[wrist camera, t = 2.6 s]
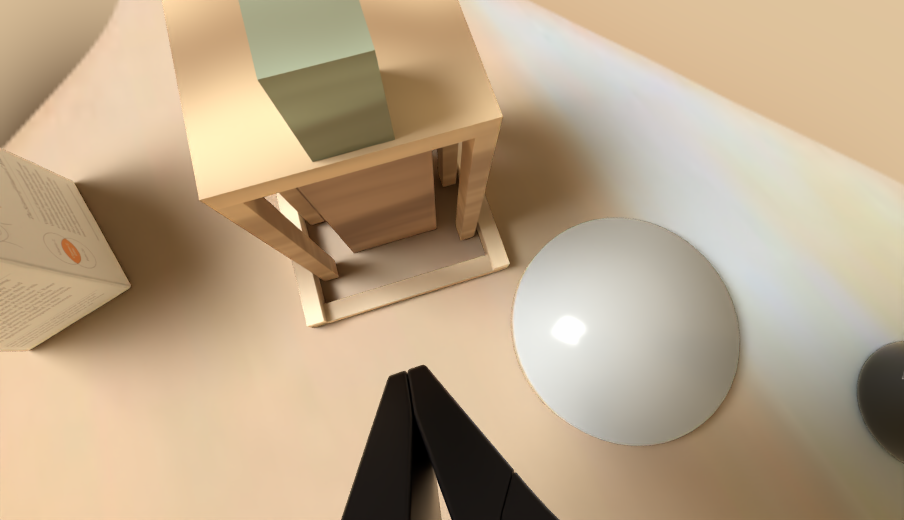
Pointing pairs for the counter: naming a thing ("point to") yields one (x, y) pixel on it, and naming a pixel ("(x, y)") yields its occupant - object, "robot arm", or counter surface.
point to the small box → (48, 256)
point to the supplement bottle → (884, 397)
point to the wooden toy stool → (326, 103)
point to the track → (401, 290)
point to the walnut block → (378, 202)
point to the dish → (625, 331)
